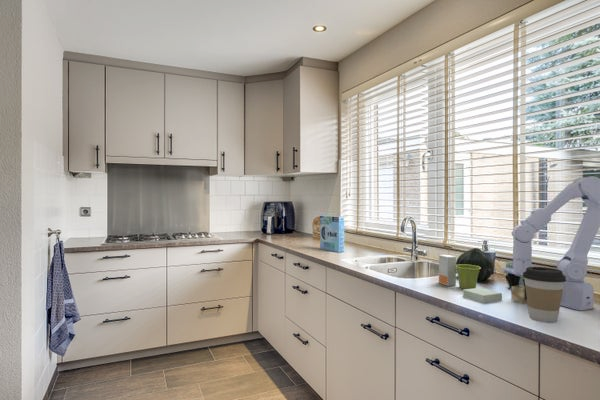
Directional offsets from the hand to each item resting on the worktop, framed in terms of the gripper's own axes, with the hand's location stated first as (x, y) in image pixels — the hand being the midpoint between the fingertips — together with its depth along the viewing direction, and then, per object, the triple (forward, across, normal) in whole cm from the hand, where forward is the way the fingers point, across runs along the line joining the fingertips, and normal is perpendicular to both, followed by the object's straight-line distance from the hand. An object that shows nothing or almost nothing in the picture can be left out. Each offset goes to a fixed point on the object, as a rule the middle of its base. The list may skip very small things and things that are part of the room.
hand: (521, 297), depth 138 cm
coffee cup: (+2, +16, -12) cm, 20 cm away
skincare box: (+2, -30, -5) cm, 30 cm away
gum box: (+2, -133, -4) cm, 133 cm away
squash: (+2, -33, +14) cm, 36 cm away
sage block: (+2, -8, -10) cm, 13 cm away
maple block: (+1, 0, 0) cm, 1 cm away
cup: (+2, -14, +16) cm, 21 cm away
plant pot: (+2, -22, -2) cm, 22 cm away
